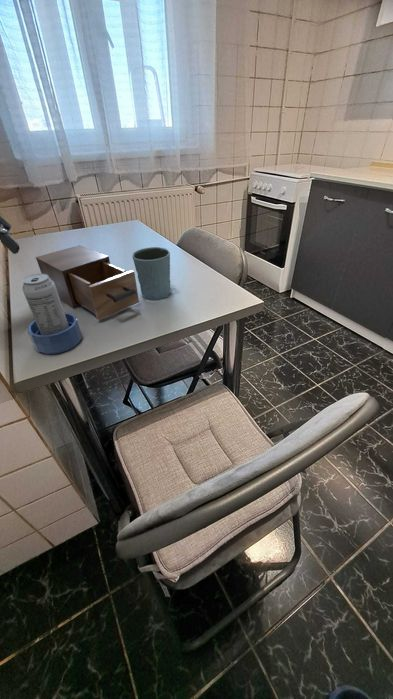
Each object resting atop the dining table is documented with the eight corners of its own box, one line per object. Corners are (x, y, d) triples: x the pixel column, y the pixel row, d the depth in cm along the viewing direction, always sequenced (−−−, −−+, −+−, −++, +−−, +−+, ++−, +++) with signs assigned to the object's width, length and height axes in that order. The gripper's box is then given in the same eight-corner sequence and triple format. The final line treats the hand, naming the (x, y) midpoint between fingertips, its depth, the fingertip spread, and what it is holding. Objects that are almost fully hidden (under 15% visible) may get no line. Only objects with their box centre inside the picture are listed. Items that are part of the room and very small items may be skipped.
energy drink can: (75, 331, 70) (55, 271, 61) (67, 346, 65) (45, 284, 56) (50, 333, 70) (26, 273, 61) (40, 348, 65) (13, 285, 56)
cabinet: (116, 291, 88) (108, 256, 82) (73, 308, 81) (62, 271, 74) (88, 277, 97) (80, 245, 91) (48, 292, 89) (35, 257, 83)
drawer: (148, 307, 78) (144, 275, 73) (108, 326, 71) (100, 292, 66) (109, 287, 89) (102, 258, 83) (70, 302, 82) (60, 271, 76)
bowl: (48, 361, 62) (39, 342, 59) (28, 343, 68) (19, 324, 65) (90, 340, 68) (85, 322, 65) (69, 325, 74) (63, 307, 71)
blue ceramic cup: (177, 287, 89) (175, 248, 82) (165, 303, 82) (161, 261, 75) (147, 284, 92) (142, 245, 85) (132, 299, 84) (125, 258, 77)
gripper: (-115, 181, 47) (-30, 258, 51) (-33, 171, 58) (33, 235, 62) (-114, 214, 52) (-36, 283, 56) (-39, 199, 63) (23, 257, 66)
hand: (0, 257), depth 59 cm, fingers open, 8 cm apart
